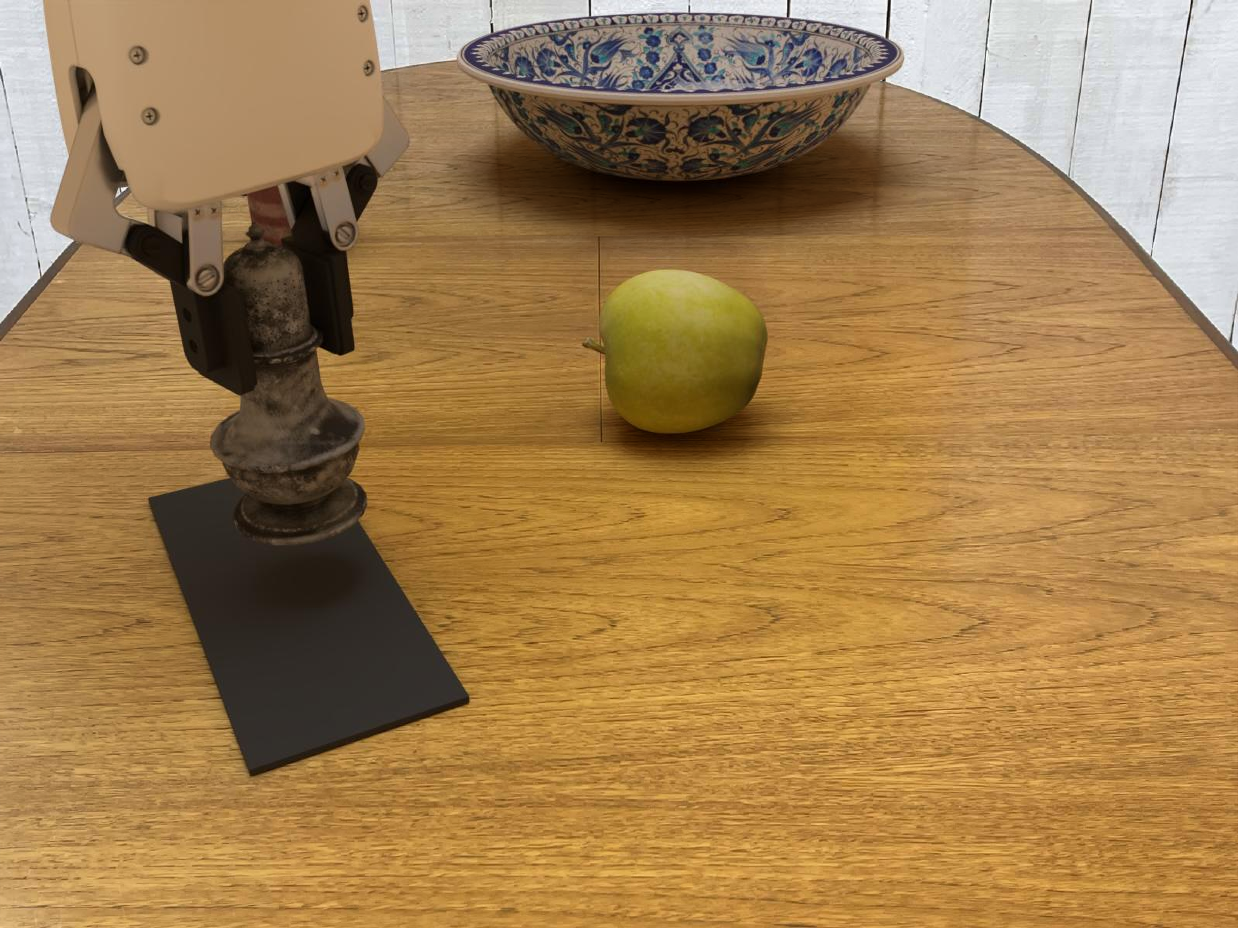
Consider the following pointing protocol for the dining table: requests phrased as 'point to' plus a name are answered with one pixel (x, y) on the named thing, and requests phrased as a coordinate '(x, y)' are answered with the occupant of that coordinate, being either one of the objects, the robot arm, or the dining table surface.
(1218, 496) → the dining table surface
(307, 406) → the salt shaker
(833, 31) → the ceramic bowl
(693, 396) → the apple
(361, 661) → the black mat
